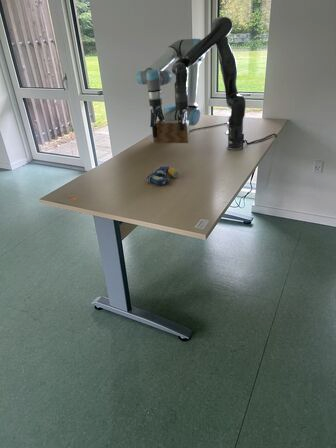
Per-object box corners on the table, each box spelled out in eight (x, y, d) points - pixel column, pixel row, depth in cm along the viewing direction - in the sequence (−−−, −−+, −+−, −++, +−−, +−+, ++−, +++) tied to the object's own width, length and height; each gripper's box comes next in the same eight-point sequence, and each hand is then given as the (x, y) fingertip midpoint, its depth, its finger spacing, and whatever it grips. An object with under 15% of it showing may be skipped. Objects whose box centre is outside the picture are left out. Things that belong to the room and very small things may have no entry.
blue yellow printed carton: (184, 172, 190) (161, 169, 197) (183, 165, 188) (160, 163, 195) (168, 188, 175) (143, 185, 181) (167, 180, 173) (142, 177, 179)
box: (153, 142, 210) (151, 123, 204) (156, 139, 215) (154, 120, 208) (187, 143, 204) (186, 123, 197) (189, 140, 209) (188, 120, 202)
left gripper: (154, 103, 187) (158, 140, 198) (167, 93, 207) (169, 128, 218) (142, 103, 189) (146, 140, 200) (155, 94, 209) (158, 128, 220)
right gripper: (184, 102, 187) (186, 132, 196) (190, 97, 199) (191, 125, 208) (172, 103, 190) (174, 132, 198) (178, 97, 201) (180, 125, 210)
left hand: (158, 133), depth 209 cm, fingers open, 13 cm apart
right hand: (183, 128), depth 203 cm, fingers closed on box, 5 cm apart
